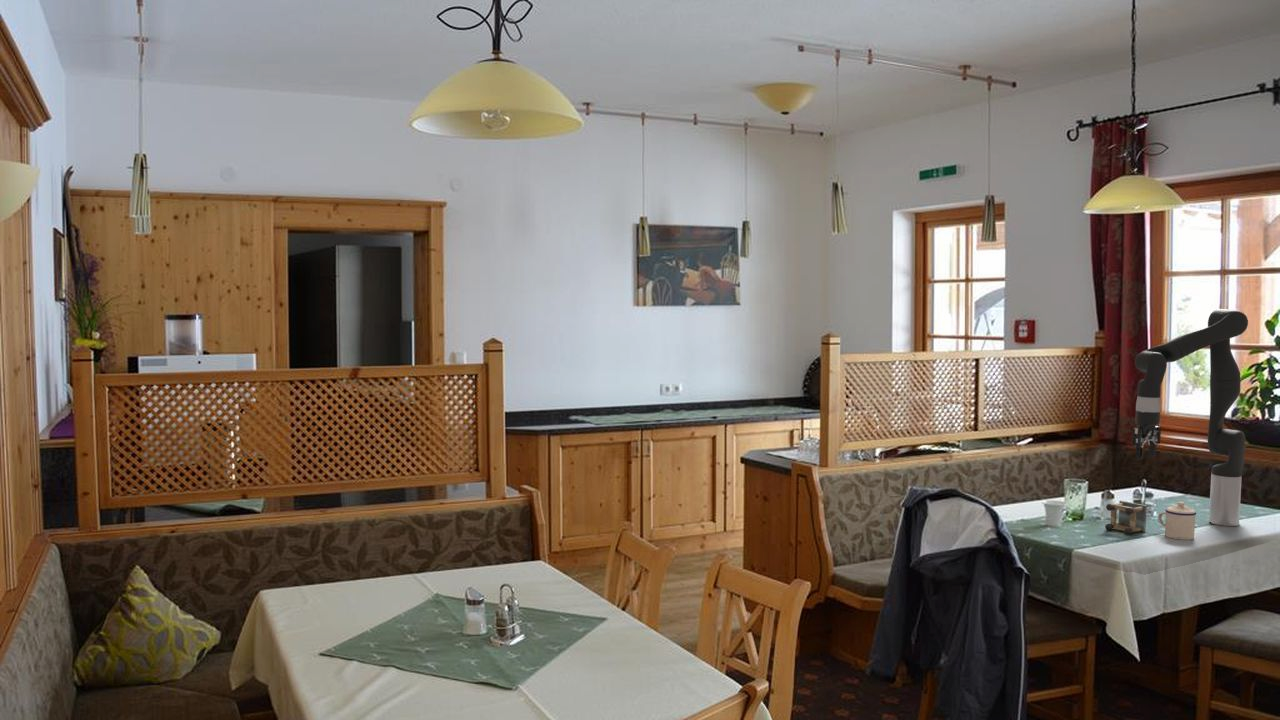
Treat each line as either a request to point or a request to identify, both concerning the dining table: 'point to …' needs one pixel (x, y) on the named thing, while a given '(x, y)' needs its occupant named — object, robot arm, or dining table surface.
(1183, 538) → the teacup with lid
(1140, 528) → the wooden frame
